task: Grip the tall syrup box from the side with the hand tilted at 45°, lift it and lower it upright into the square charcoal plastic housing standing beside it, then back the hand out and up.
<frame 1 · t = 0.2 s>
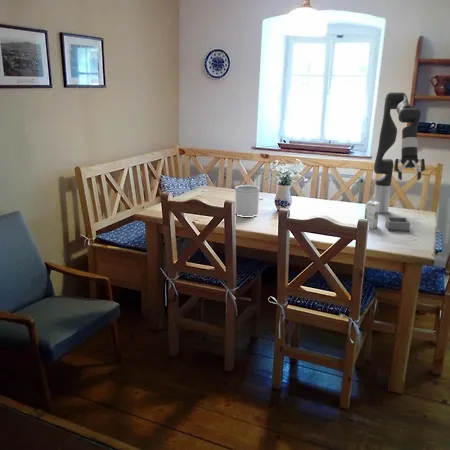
hand: (409, 179, 235), 31 cm above the table, tool tilted 20°, fingers open, 8 cm apart
housing: (396, 228, 262), on the table
syrup box: (370, 227, 264), on the table
utensil holder: (247, 215, 290), on the table
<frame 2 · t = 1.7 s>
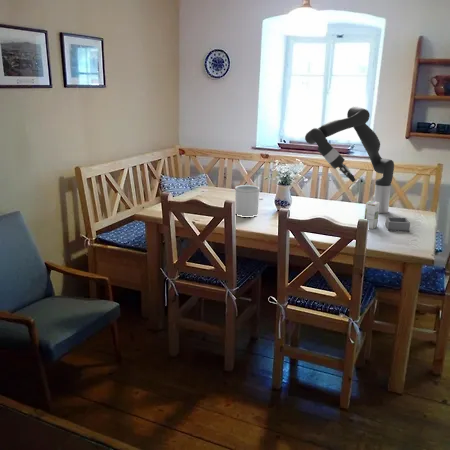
hand: (353, 179, 258), 27 cm above the table, tool tilted 45°, fingers open, 8 cm apart
nothing on the table moved.
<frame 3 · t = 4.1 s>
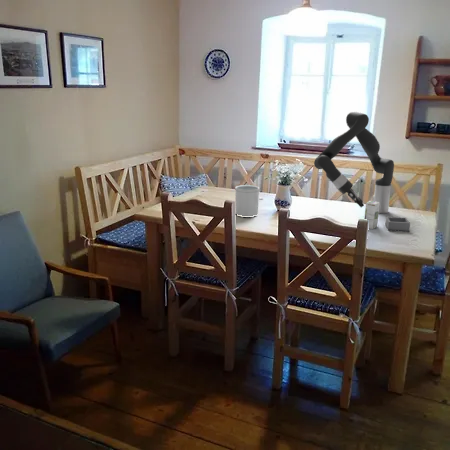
hand: (362, 204, 262), 13 cm above the table, tool tilted 45°, fingers open, 8 cm apart
nothing on the table moved.
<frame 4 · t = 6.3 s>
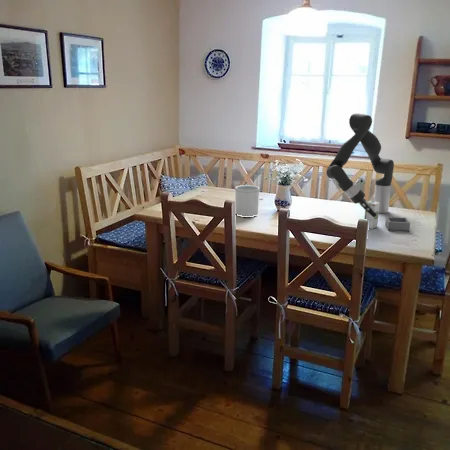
hand: (374, 214, 262), 8 cm above the table, tool tilted 45°, fingers closed on syrup box, 7 cm apart
syrup box: (370, 227, 264), on the table, touching gripper
everything else where it was.
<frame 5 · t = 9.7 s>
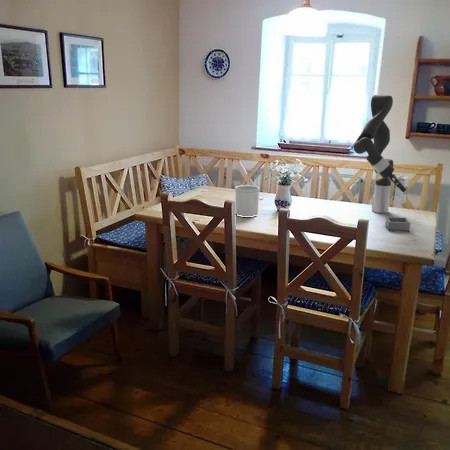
hand: (403, 189, 255), 22 cm above the table, tool tilted 45°, fingers closed on syrup box, 7 cm apart
syrup box: (399, 203, 258), point 14 cm above the table, touching gripper
everything else where it was.
when the fingers open (10 cm above the table, at t = 13.1 s): syrup box drops 1 cm, resting on housing.
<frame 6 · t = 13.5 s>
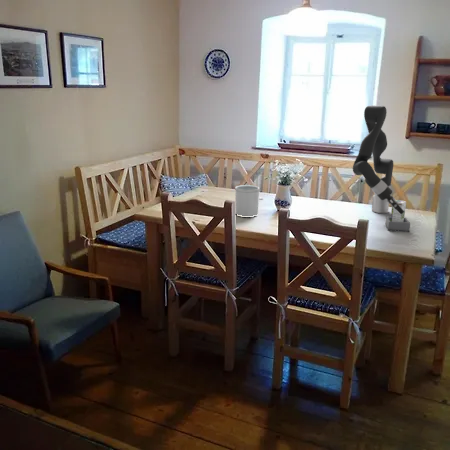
hand: (401, 210, 259), 10 cm above the table, tool tilted 45°, fingers open, 8 cm apart
syrup box: (396, 226, 262), point 1 cm above the table, touching housing
everything else where it was.
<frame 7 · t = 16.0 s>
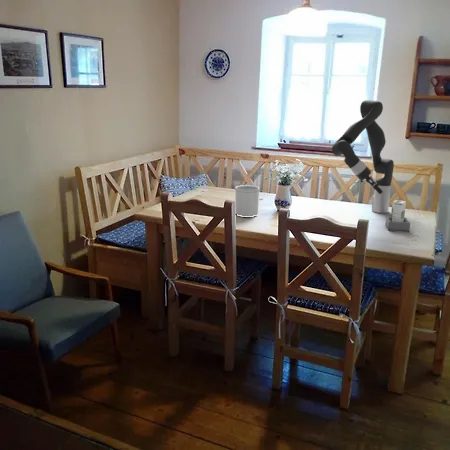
hand: (379, 191, 258), 21 cm above the table, tool tilted 45°, fingers open, 8 cm apart
nothing on the table moved.
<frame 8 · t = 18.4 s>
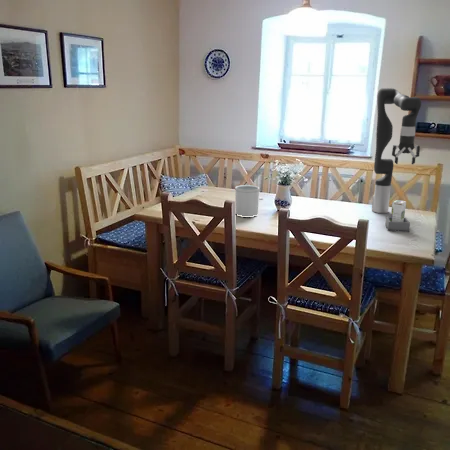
hand: (404, 164, 264), 34 cm above the table, tool pointing down, fingers open, 8 cm apart
nothing on the table moved.
at the end: syrup box 0.2 cm off-centre on the housing, point 0.8 cm above the housing's base; syrup box tilted 0°; the gripper is holding nothing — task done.
